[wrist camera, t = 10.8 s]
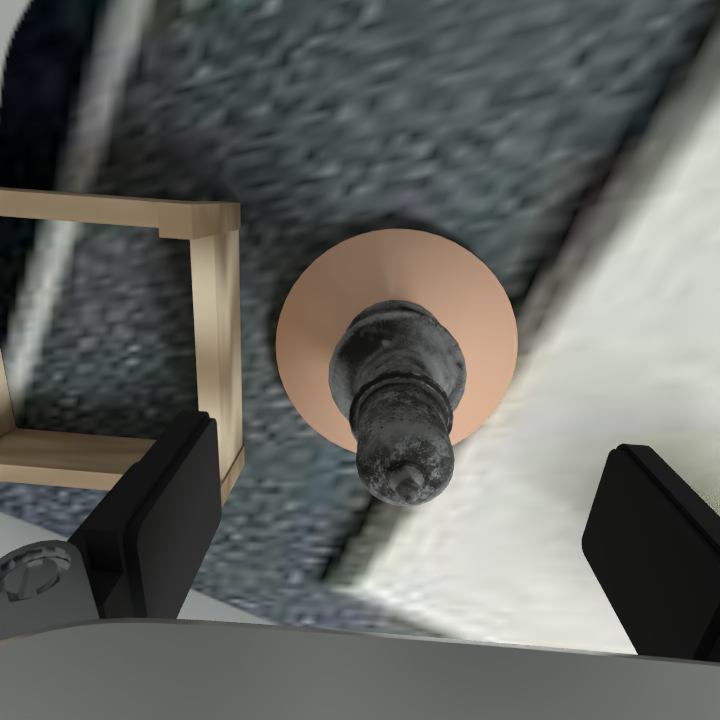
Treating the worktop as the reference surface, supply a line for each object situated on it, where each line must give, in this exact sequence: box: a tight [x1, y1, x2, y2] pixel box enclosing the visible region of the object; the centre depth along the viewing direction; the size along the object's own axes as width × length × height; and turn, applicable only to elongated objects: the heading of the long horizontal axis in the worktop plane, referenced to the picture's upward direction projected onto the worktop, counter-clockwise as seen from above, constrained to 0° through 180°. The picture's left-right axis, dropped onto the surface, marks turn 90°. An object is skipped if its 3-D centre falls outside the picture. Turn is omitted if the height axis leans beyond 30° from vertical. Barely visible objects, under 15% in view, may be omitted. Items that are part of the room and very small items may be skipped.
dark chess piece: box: [328, 300, 467, 506], centre depth 17 cm, size 6×6×12 cm
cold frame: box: [0, 187, 245, 507], centre depth 21 cm, size 14×14×6 cm
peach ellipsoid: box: [276, 228, 518, 453], centre depth 23 cm, size 12×12×1 cm
